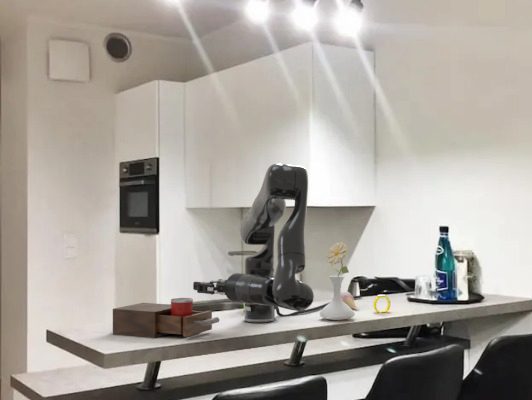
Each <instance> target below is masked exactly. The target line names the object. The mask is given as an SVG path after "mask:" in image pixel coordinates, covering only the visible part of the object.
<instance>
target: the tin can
mask: <svg viewBox="0 0 532 400" xmlns="http://www.w3.org/2000/svg"><path fill="white" fill-rule="evenodd" d="M193 303H194V299H193V298H191V297H176V298H171V299H170V305H171V316H181V317H182V329H183V317H185V316H189V315H193V311H194V310H193V305H194V304H193Z"/></svg>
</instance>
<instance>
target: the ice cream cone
mask: <svg viewBox="0 0 532 400" xmlns="http://www.w3.org/2000/svg"><path fill="white" fill-rule="evenodd" d="M353 296H354V295H352V294H351V292H349V291H346V290H344V291H341V299H342V301H343V302H344V303H345V304H347V305H348V306H349V307H350V308H351V309H352V310H355V311H358V309H357V306H356V302H355V299H354V298H353Z"/></svg>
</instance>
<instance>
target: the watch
mask: <svg viewBox="0 0 532 400" xmlns="http://www.w3.org/2000/svg"><path fill="white" fill-rule="evenodd" d="M381 298H383V299H384V298H385V299H386V301H387V306H386V308H385V309H384V310H378V308H377V302H378V301H379V299H381ZM373 309H374V311H375V312H376V313H378V314H383V313H388V312H389V310H390V309H391V300H390V298H389V297H388V296H387V295H386V294H377V296H376V297H375V298H374V301H373Z"/></svg>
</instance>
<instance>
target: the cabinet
mask: <svg viewBox="0 0 532 400" xmlns="http://www.w3.org/2000/svg"><path fill="white" fill-rule="evenodd" d="M169 311H171V303H170V304H169V303H154V302H153V303H152V302H139V303H134V304H129V305H124V306H120V307H115V308H114V307H113V308H112V335H119V336H129V337H143V338H152V339H156V338H159V337H163V336H167V335H171V334H170V333H158V332H157V315H156V314H161V313H165V312H169Z"/></svg>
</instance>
